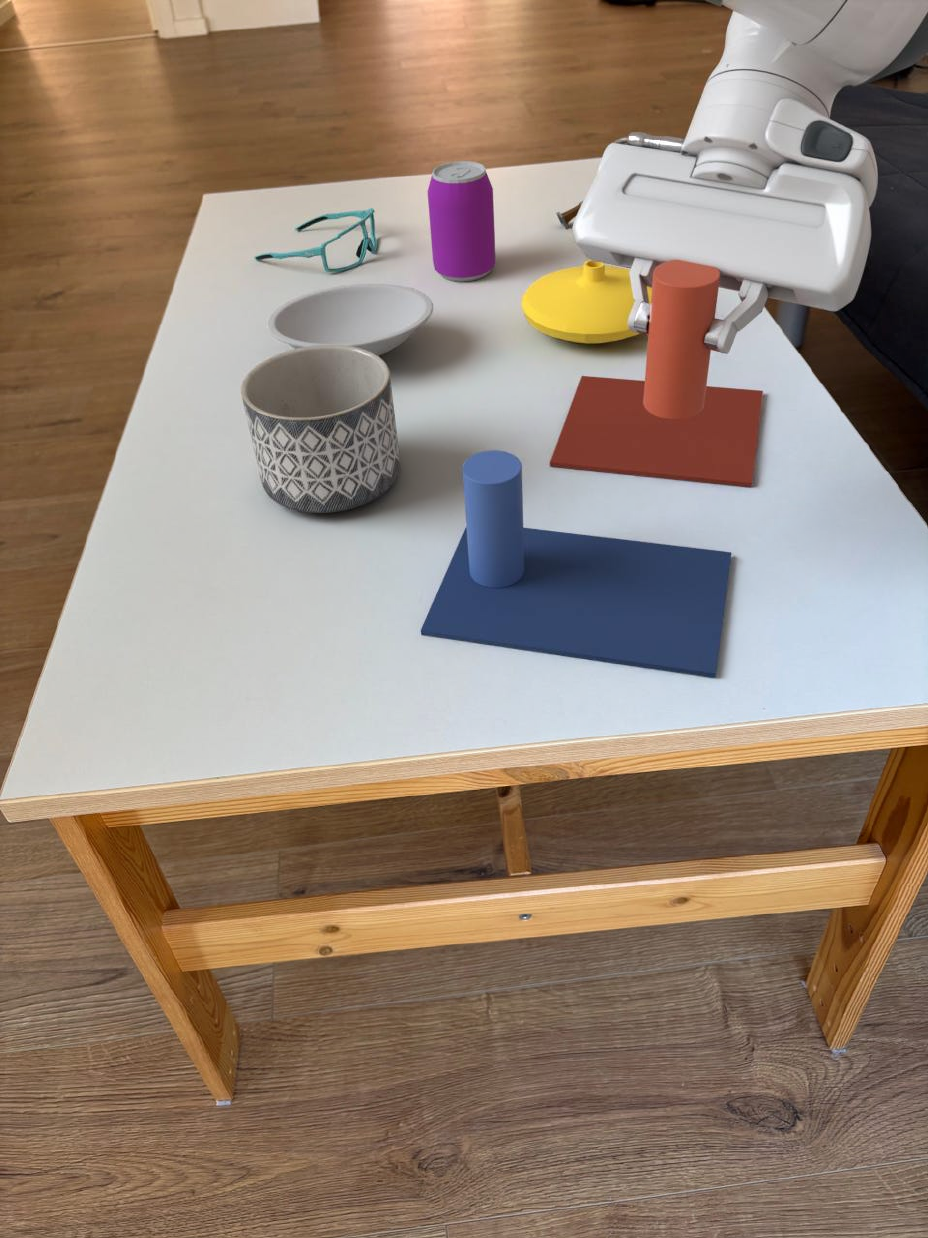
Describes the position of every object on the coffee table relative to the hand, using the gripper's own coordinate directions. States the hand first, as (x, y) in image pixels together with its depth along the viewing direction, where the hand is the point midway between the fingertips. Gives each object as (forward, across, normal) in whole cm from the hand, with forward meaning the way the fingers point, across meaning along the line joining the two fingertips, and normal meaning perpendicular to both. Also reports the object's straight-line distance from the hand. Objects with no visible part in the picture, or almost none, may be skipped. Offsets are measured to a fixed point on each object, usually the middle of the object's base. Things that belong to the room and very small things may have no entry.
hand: (676, 340), depth 71 cm
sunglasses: (-11, -64, +39) cm, 76 cm away
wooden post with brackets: (-28, -38, +55) cm, 72 cm away
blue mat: (+19, -3, +8) cm, 21 cm away
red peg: (+3, 0, +4) cm, 5 cm away
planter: (+17, -30, +10) cm, 36 cm away
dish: (+3, -43, +24) cm, 49 cm away
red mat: (+1, -8, +25) cm, 26 cm away
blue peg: (+19, -10, +7) cm, 23 cm away
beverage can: (-14, -44, +41) cm, 62 cm away
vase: (-10, -23, +37) cm, 45 cm away
